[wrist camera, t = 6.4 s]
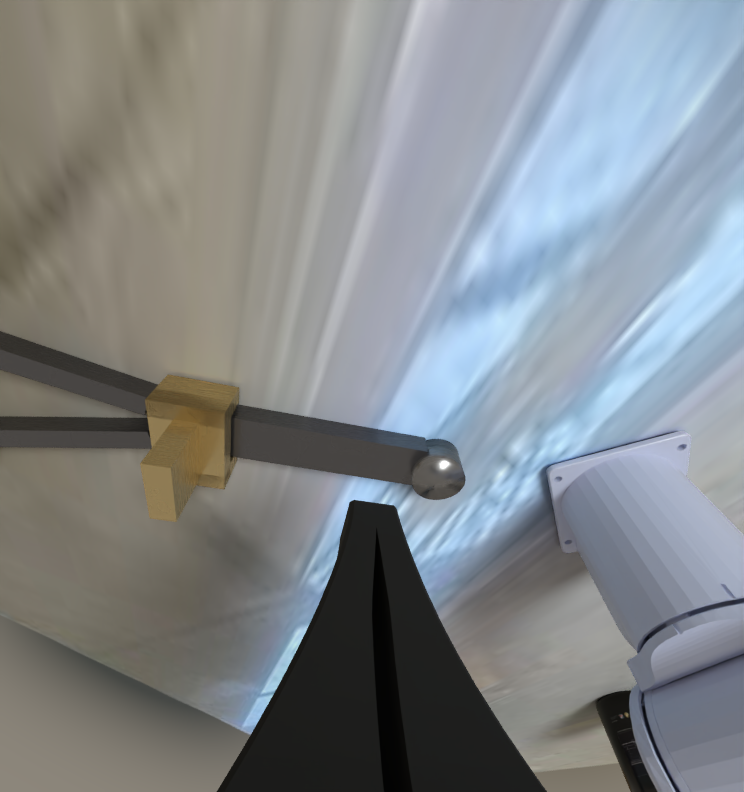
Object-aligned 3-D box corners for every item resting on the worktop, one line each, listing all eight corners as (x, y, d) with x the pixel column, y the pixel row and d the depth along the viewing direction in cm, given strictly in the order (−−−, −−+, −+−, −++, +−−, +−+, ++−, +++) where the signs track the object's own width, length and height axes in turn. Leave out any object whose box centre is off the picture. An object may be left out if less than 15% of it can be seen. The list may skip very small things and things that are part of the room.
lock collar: (239, 387, 19) (199, 457, 15) (237, 460, 22) (203, 536, 18) (168, 374, 19) (105, 442, 14) (175, 450, 22) (125, 526, 17)
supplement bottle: (657, 701, 46) (736, 852, 36) (602, 712, 48) (663, 857, 38) (645, 684, 43) (728, 845, 33) (587, 697, 45) (649, 851, 35)
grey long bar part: (485, 402, 20) (496, 425, 18) (433, 508, 25) (437, 534, 23) (-132, 281, 16) (-189, 296, 14) (-48, 435, 21) (-84, 459, 19)
